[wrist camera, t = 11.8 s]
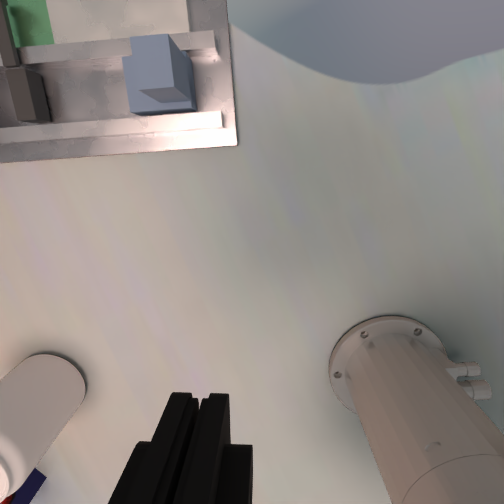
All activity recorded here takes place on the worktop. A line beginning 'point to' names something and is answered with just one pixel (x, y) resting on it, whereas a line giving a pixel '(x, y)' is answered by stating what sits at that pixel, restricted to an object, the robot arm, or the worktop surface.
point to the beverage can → (34, 414)
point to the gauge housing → (114, 78)
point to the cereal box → (26, 489)
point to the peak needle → (21, 77)
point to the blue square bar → (158, 77)
